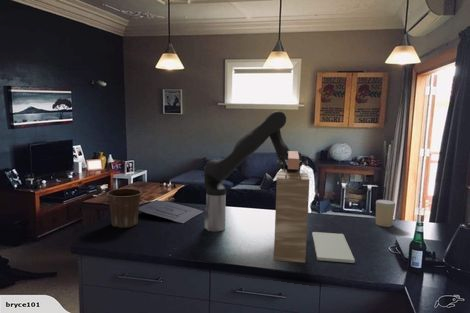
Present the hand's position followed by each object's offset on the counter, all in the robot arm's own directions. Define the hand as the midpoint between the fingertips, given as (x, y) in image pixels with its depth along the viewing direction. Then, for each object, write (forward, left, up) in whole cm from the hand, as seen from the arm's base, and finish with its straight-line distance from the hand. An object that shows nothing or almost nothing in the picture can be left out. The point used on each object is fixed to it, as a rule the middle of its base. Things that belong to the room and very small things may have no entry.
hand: (293, 154), depth 153 cm
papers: (-39, +60, -40) cm, 82 cm away
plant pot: (-64, +49, -39) cm, 90 cm away
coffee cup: (+61, +9, -39) cm, 74 cm away
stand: (-6, -10, -39) cm, 41 cm away
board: (+15, -9, -39) cm, 43 cm away
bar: (-3, -6, -3) cm, 7 cm away
